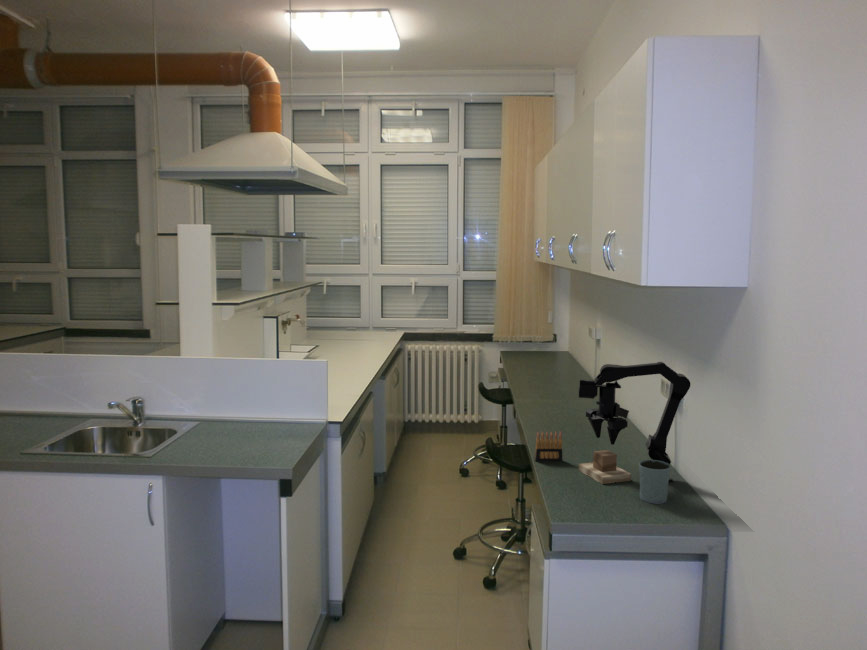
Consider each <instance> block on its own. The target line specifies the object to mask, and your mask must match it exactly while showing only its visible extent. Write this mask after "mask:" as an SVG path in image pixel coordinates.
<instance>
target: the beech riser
mask: <svg viewBox="0 0 867 650" xmlns="http://www.w3.org/2000/svg"><path fill="white" fill-rule="evenodd" d="M578 471H579V472H581V473H583V474H584V475H586V476H587V475H588V477H589V478H591V479H592V480H595V481H596V482H598V483H599V482H600V483H599V484H602V485H606V484H615V482H616V483H623V482H630V481H632V473H631V472H628V471H627V470H624V469H623V468H621V467H619V466H617V465H616V471H608V472H601V471H599V470H597V469H595V468H594V467H593V461H592V462H583V463H578Z"/></svg>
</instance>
